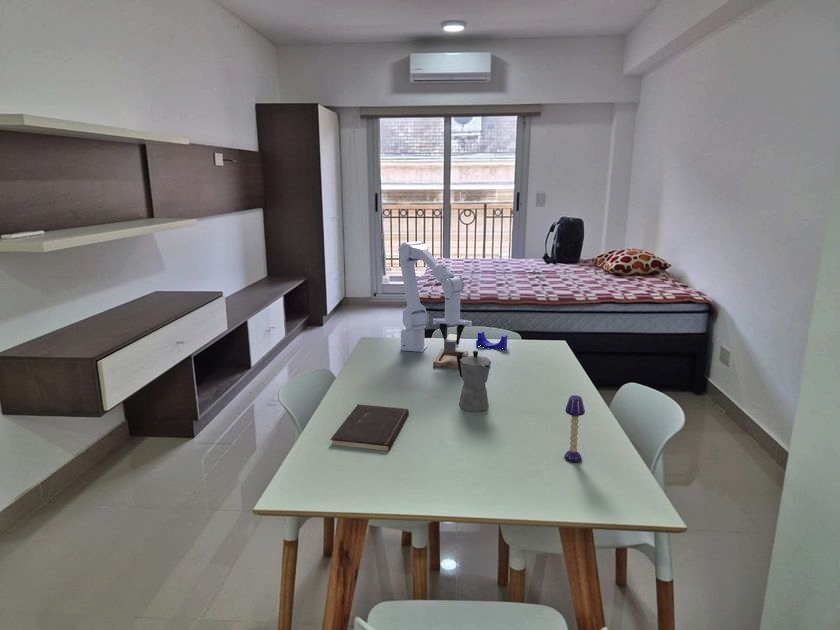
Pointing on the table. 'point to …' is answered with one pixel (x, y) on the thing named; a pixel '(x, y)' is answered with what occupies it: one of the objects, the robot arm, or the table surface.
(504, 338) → the cable clip
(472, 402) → the coffeepot
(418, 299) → the robot arm
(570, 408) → the toy lamp
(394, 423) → the hardcover book
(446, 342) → the sleeve block
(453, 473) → the table surface
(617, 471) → the table surface
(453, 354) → the tray
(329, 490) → the table surface
